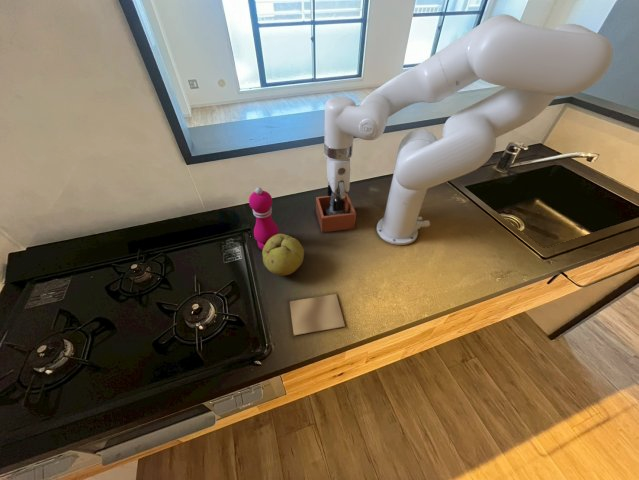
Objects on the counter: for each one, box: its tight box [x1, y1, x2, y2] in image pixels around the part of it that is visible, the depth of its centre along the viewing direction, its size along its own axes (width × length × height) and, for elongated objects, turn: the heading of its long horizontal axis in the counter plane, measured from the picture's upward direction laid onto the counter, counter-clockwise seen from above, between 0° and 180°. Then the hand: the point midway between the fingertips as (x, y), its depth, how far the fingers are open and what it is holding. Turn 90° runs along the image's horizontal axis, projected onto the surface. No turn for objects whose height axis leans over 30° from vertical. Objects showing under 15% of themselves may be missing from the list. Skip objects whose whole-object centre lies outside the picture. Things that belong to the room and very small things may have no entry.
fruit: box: [261, 233, 305, 277], centre depth 74 cm, size 11×12×10 cm
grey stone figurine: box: [325, 192, 345, 216], centre depth 87 cm, size 6×6×12 cm
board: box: [289, 293, 346, 337], centre depth 67 cm, size 12×9×1 cm
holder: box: [315, 193, 357, 233], centre depth 90 cm, size 11×11×6 cm
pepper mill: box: [248, 186, 280, 251], centre depth 77 cm, size 7×7×20 cm
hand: (335, 202), depth 87 cm, fingers open, 6 cm apart
